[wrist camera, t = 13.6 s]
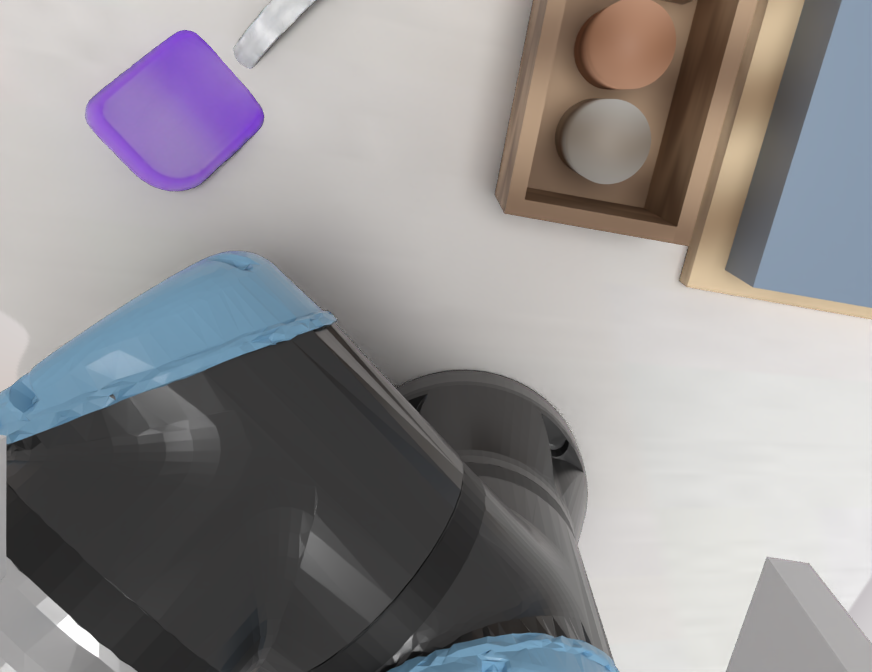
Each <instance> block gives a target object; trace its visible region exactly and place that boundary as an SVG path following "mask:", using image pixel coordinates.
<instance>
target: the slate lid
mask: <svg viewBox="0 0 872 672" xmlns="http://www.w3.org/2000/svg"><path fill="white" fill-rule="evenodd" d="M725 270H726V271H727V272H729V273H731V274H732V275H734V276H736V277H737V278H739V279H740V280H742V281H744V282H745V283H747V284H748V285H750V286H752V287H754V288H760V289H765V290H771V291H777V292H783V293H788V294H794V295H800V296H806V297H811V298H817V299H823V300H829V301H834V302H840V303H846V304H852V305H857V306H863V307H869V308H872V0H805V1H804V5H803V8H802V11H801V15H800V18H799V21H798V25H797V28H796V32H795V35H794V38H793V42H792V45H791V48H790V52H789V55H788V59H787V62H786V65H785V69H784V72H783V75H782V79H781V82H780V86H779V89H778V92H777V96H776V99H775V102H774V106H773V109H772V113H771V116H770V119H769V123H768V126H767V129H766V133H765V136H764V140H763V143H762V146H761V150H760V153H759V156H758V160H757V163H756V167H755V170H754V173H753V177H752V180H751V183H750V187H749V190H748V193H747V197H746V200H745V204H744V207H743V210H742V214H741V217H740V220H739V224H738V227H737V231H736V234H735V237H734V241H733V244H732V247H731V251H730V254H729V258H728V261H727V264H726V268H725Z"/></svg>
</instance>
